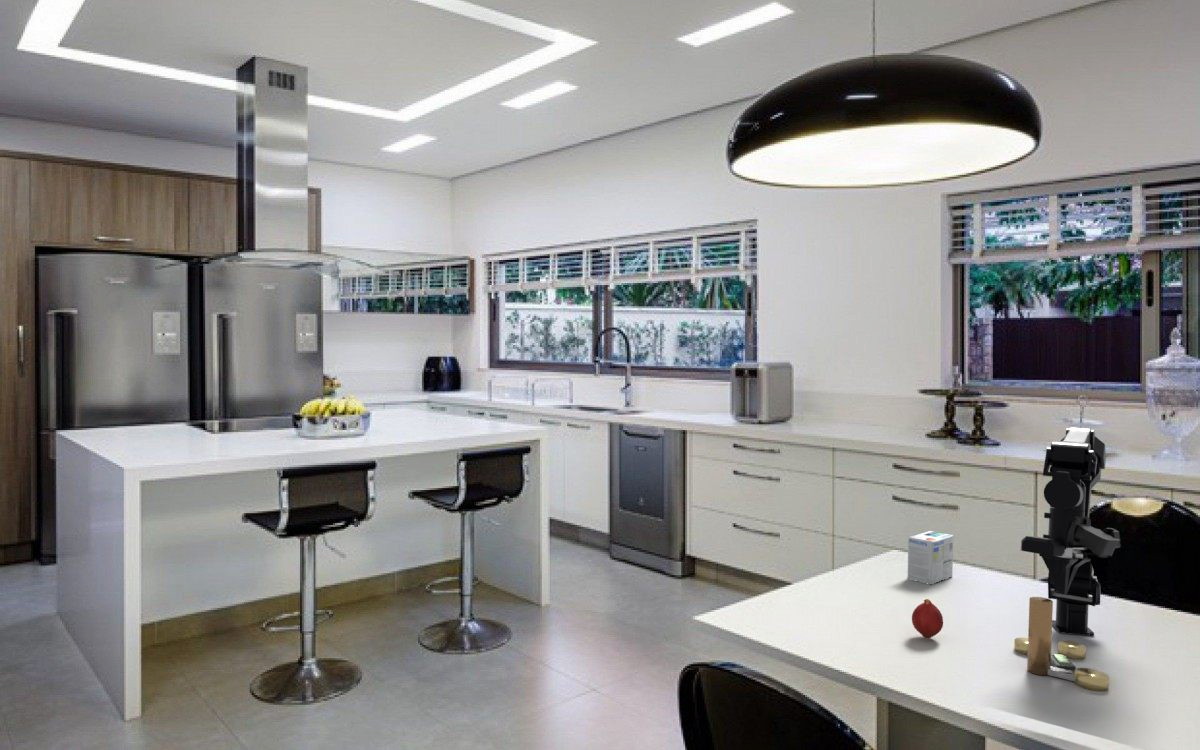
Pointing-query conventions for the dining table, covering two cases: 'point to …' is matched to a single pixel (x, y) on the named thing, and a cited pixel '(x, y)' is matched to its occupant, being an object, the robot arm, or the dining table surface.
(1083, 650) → the tribrach plate
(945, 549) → the light bulb box
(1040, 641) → the knob lever
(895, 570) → the dining table surface
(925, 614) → the onion
